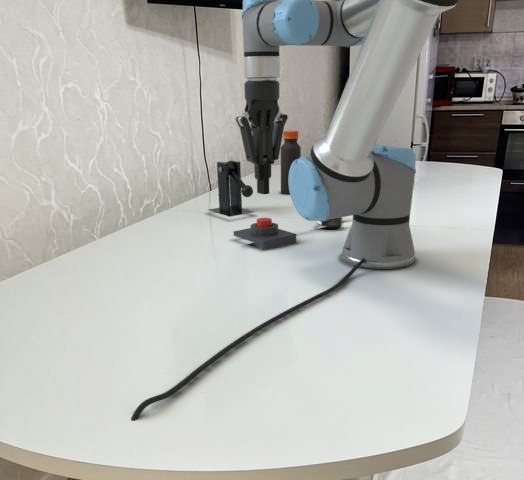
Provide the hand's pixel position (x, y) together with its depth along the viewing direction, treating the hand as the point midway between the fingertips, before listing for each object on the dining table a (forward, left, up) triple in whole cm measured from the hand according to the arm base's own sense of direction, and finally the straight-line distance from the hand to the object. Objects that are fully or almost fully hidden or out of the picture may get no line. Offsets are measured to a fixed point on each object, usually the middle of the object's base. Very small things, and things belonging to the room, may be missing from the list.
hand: (263, 193), depth 123 cm
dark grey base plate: (0, 0, -12) cm, 12 cm away
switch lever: (+18, +21, -2) cm, 28 cm away
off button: (0, 0, -8) cm, 8 cm away
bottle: (+57, +28, -12) cm, 64 cm away
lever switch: (+19, +25, -12) cm, 33 cm away
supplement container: (+20, -7, -12) cm, 24 cm away
